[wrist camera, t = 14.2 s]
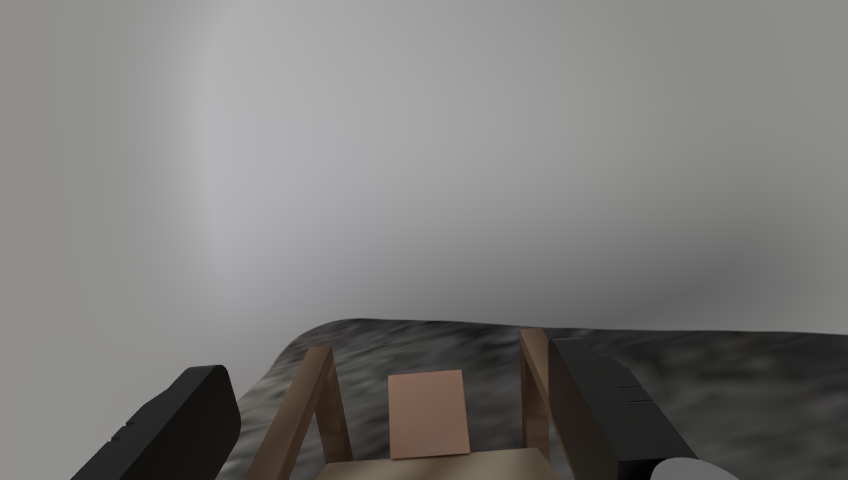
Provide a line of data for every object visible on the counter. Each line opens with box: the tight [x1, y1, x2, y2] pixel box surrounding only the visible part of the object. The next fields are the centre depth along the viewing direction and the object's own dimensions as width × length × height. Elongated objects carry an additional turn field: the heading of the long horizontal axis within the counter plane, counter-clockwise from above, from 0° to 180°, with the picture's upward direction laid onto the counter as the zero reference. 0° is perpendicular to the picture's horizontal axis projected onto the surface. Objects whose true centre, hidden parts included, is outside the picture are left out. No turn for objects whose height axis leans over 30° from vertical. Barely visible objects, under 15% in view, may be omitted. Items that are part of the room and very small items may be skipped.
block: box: [388, 370, 470, 459], centre depth 31 cm, size 5×5×10 cm
